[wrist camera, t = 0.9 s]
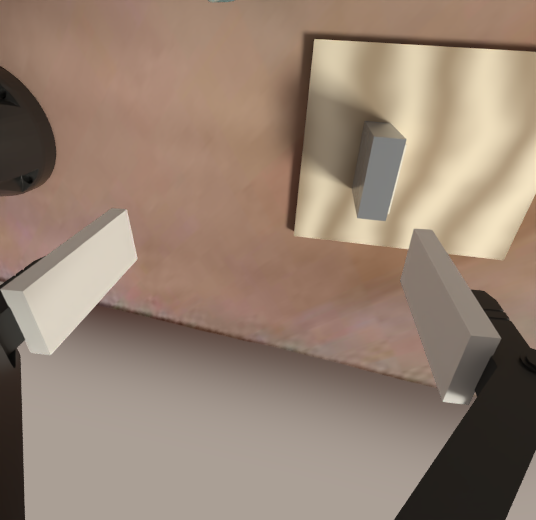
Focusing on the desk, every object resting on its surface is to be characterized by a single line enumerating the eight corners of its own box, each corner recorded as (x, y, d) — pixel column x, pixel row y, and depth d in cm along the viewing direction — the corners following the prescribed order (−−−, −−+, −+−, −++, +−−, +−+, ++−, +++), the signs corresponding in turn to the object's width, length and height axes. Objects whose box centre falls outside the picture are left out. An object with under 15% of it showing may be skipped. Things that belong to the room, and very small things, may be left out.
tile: (351, 188, 37) (357, 218, 30) (364, 120, 34) (373, 136, 27) (378, 191, 37) (390, 221, 30) (394, 123, 33) (411, 139, 27)
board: (294, 231, 42) (293, 235, 41) (314, 39, 32) (314, 38, 31) (498, 255, 40) (503, 260, 39) (592, 55, 30) (601, 55, 29)
